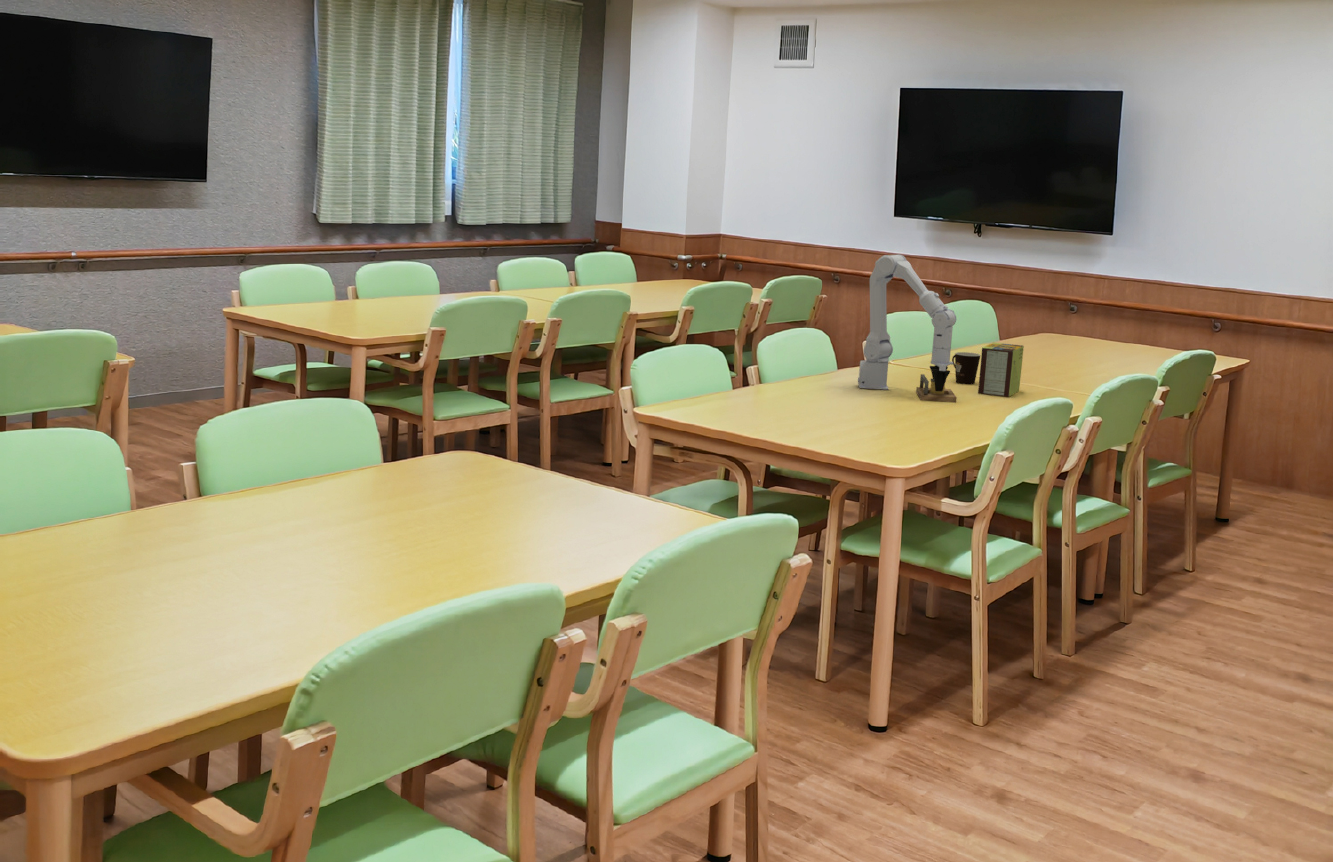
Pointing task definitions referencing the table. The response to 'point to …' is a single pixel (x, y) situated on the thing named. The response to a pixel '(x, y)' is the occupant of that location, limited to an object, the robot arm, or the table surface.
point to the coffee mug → (966, 367)
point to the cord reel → (932, 389)
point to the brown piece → (925, 395)
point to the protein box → (1000, 369)
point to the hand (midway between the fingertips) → (937, 389)
